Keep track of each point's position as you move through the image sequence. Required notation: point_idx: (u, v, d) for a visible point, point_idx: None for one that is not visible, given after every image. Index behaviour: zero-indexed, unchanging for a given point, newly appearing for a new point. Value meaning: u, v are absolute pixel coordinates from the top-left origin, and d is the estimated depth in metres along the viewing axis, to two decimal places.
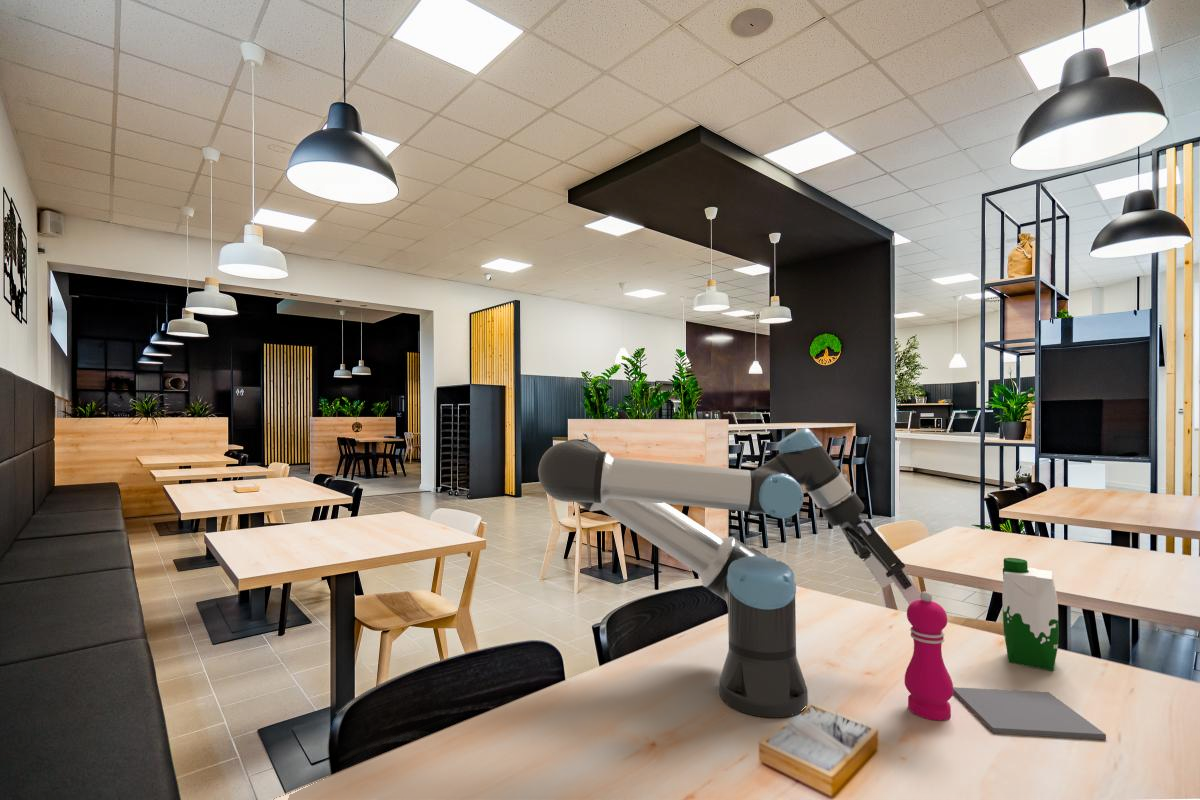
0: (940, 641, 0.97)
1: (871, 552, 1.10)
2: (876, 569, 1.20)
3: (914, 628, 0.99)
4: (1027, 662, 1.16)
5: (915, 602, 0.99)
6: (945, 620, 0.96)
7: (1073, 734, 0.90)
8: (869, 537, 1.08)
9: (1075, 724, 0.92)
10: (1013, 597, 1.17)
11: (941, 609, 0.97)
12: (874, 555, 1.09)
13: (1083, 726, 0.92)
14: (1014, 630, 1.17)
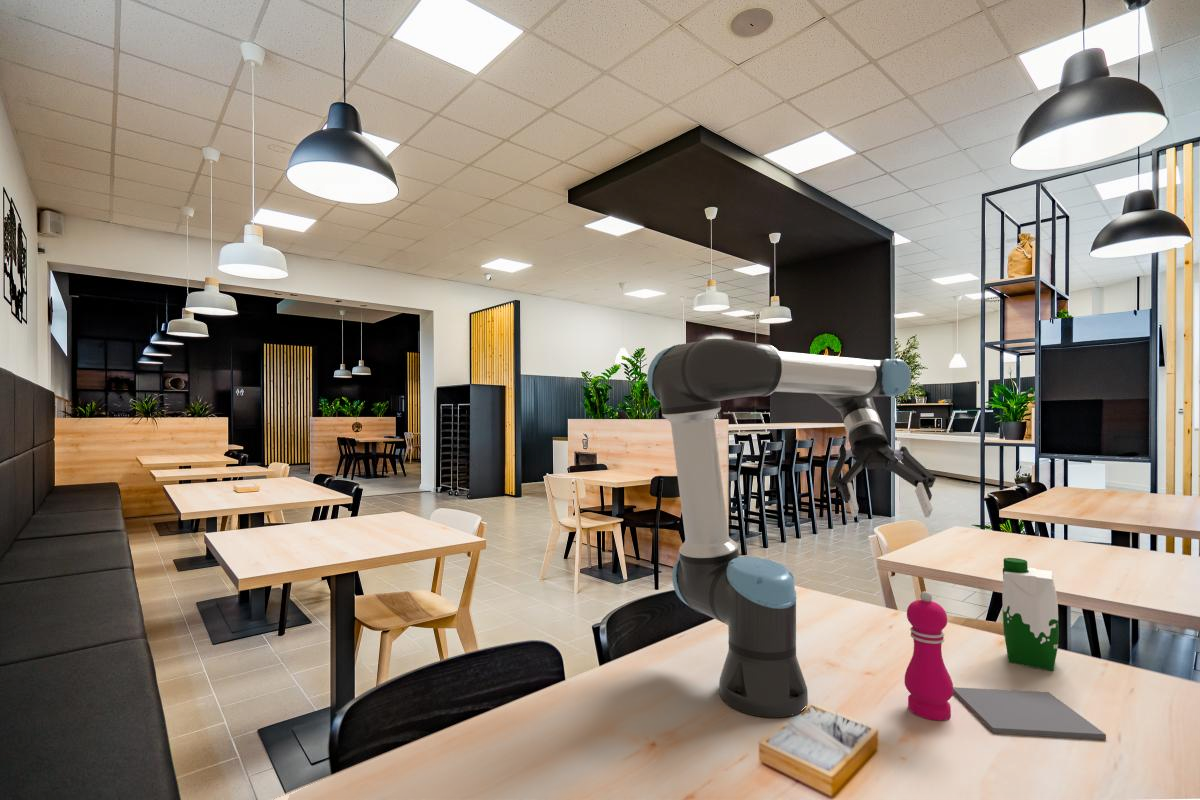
0: (940, 641, 0.97)
1: (902, 466, 1.21)
2: None
3: (914, 628, 0.99)
4: (1027, 662, 1.16)
5: (915, 602, 0.99)
6: (945, 620, 0.96)
7: (1073, 734, 0.90)
8: None
9: (1075, 724, 0.92)
10: (1013, 597, 1.17)
11: (941, 609, 0.97)
12: (907, 468, 1.20)
13: (1083, 726, 0.92)
14: (1014, 630, 1.17)
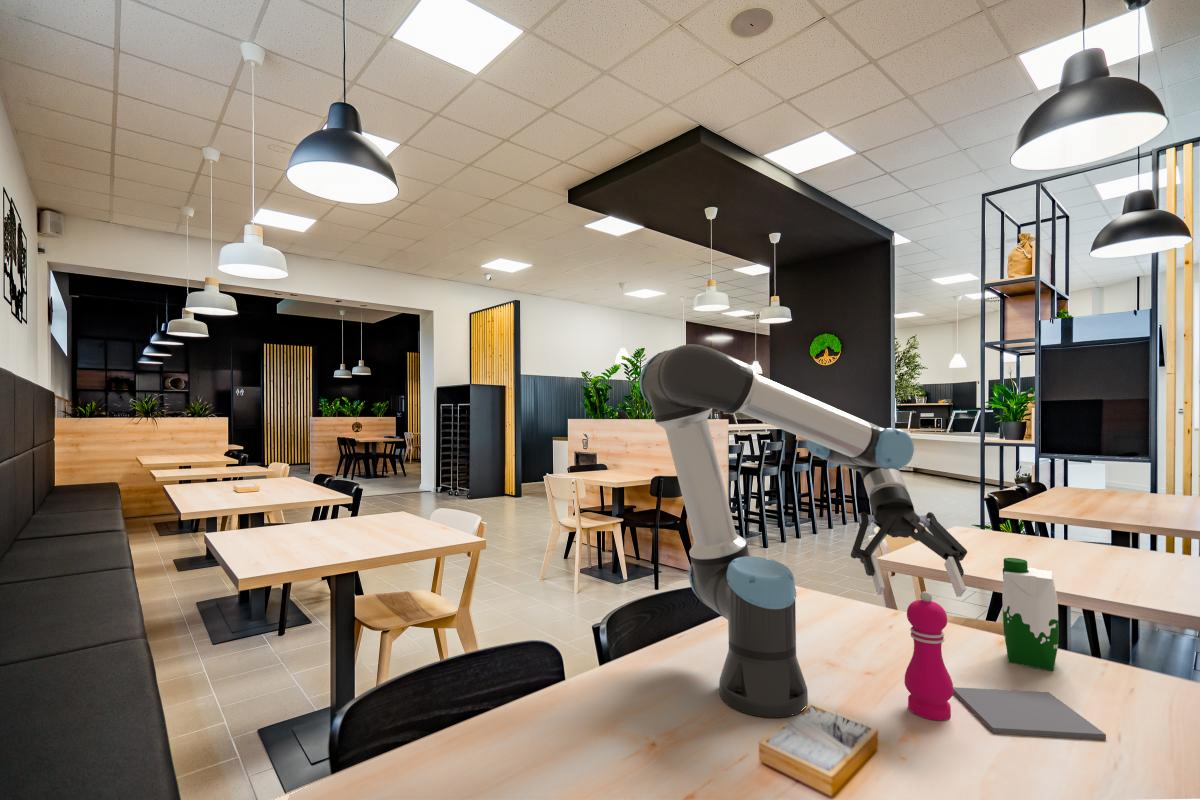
0: (940, 641, 0.97)
1: (930, 536, 1.11)
2: None
3: (914, 628, 0.99)
4: (1027, 662, 1.16)
5: (915, 602, 0.99)
6: (945, 620, 0.96)
7: (1073, 734, 0.90)
8: None
9: (1075, 724, 0.92)
10: (1013, 597, 1.17)
11: (941, 609, 0.97)
12: (935, 539, 1.11)
13: (1083, 726, 0.92)
14: (1014, 631, 1.17)
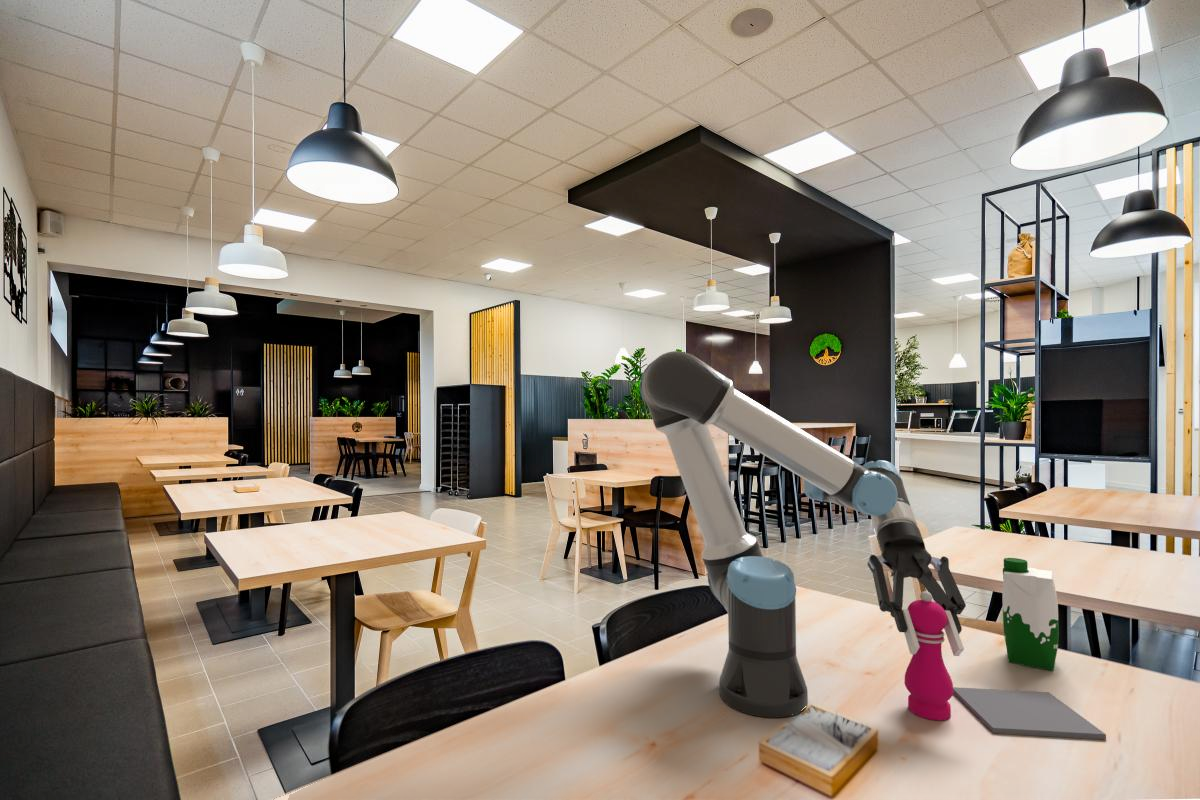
0: (940, 641, 0.97)
1: (933, 582, 1.02)
2: None
3: (914, 628, 0.99)
4: (1027, 662, 1.16)
5: (915, 602, 0.99)
6: (945, 620, 0.96)
7: (1073, 734, 0.90)
8: None
9: (1075, 724, 0.92)
10: (1013, 597, 1.17)
11: (941, 609, 0.97)
12: (938, 586, 1.02)
13: (1083, 726, 0.92)
14: (1014, 630, 1.17)
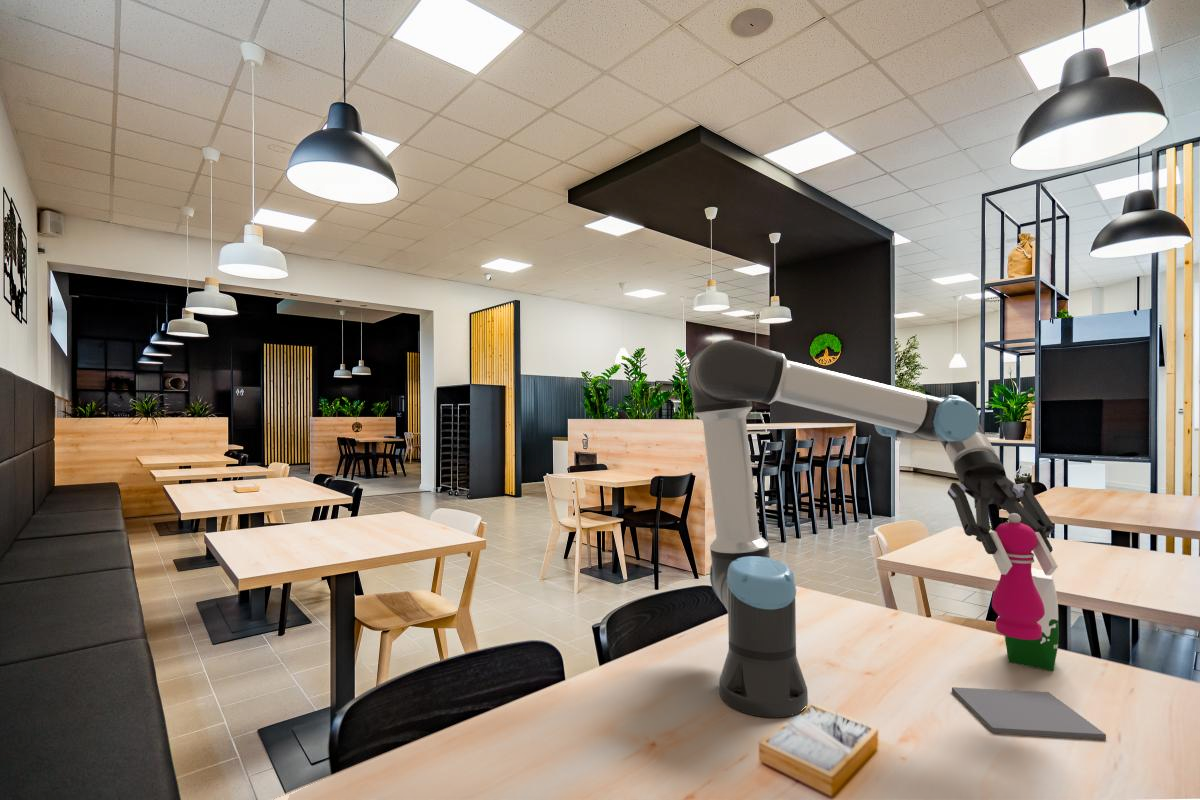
0: (1031, 561, 0.96)
1: (1019, 507, 1.02)
2: None
3: None
4: (1027, 662, 1.16)
5: (1003, 524, 0.99)
6: (1036, 540, 0.96)
7: (1073, 734, 0.90)
8: None
9: (1075, 724, 0.92)
10: None
11: (1031, 529, 0.97)
12: (1024, 510, 1.01)
13: (1083, 726, 0.92)
14: None
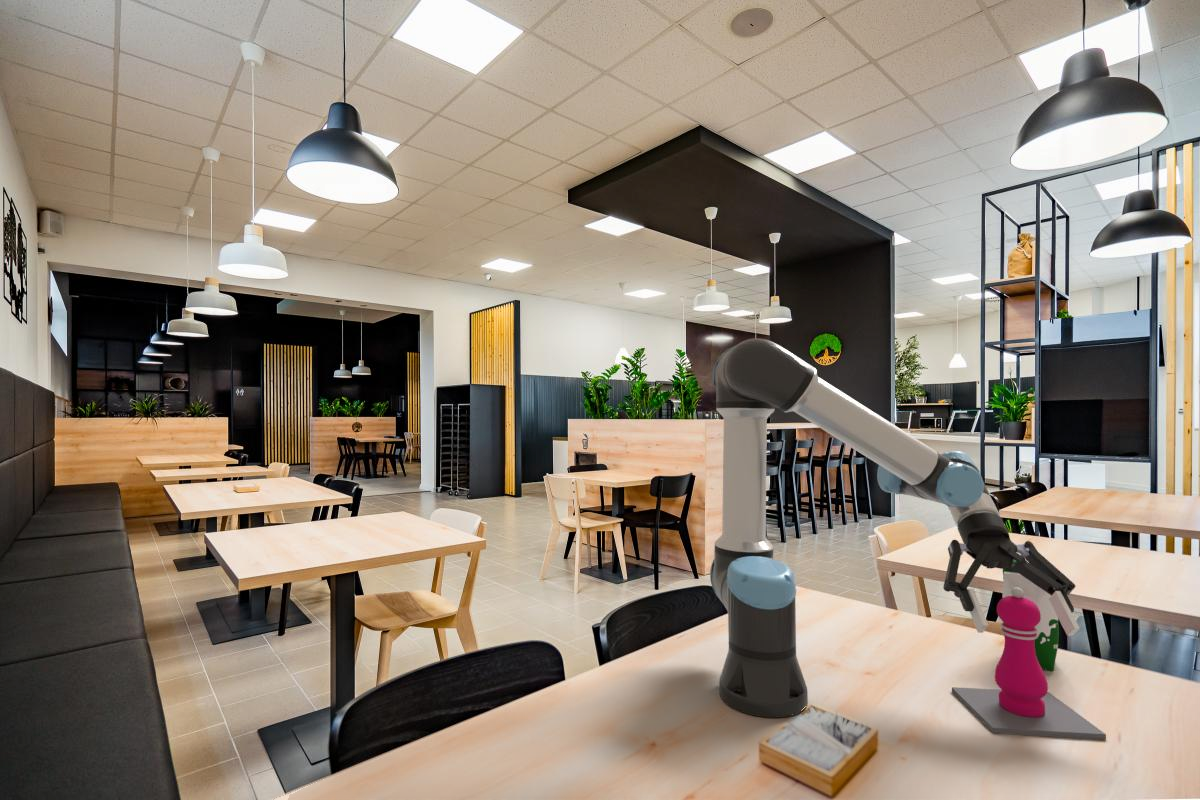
0: (1034, 637, 0.96)
1: (1032, 568, 1.02)
2: None
3: (1006, 624, 0.98)
4: None
5: (1006, 598, 0.98)
6: (1039, 616, 0.96)
7: (1073, 734, 0.90)
8: None
9: (1075, 724, 0.92)
10: None
11: (1034, 605, 0.96)
12: (1037, 571, 1.01)
13: (1083, 726, 0.92)
14: None
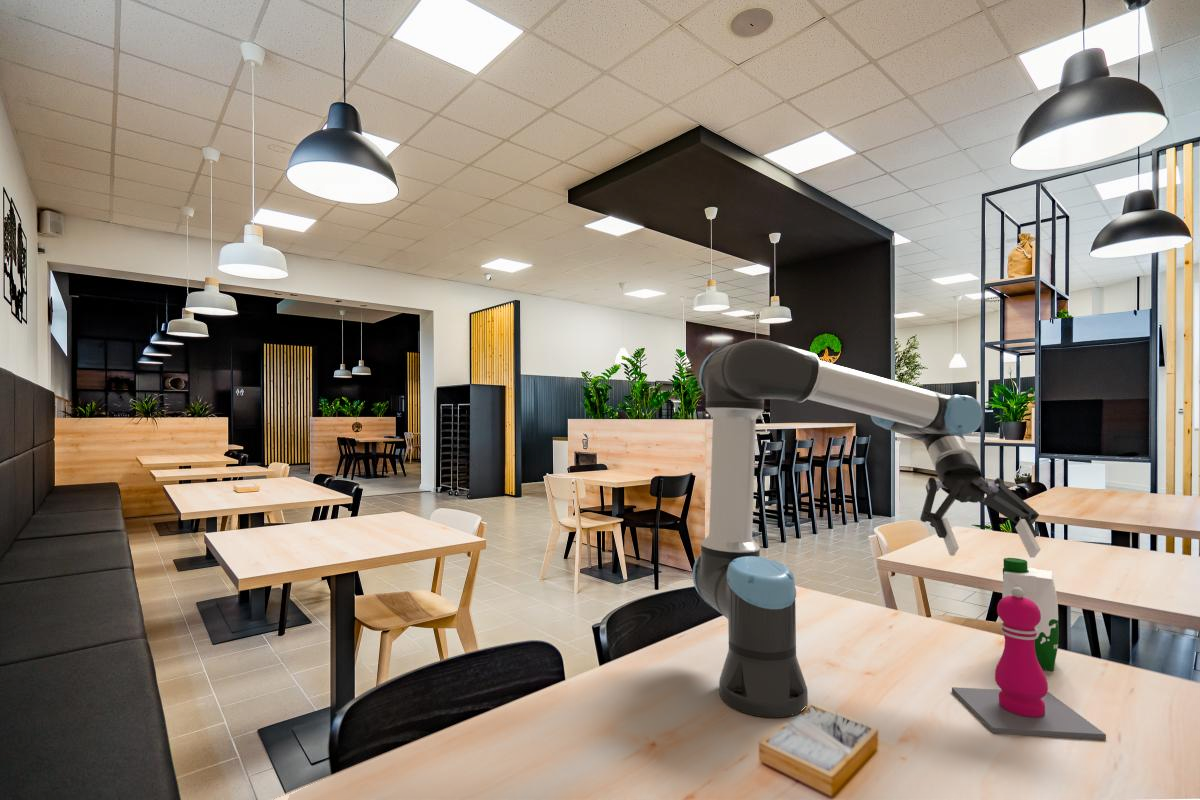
0: (1034, 637, 0.96)
1: (1000, 500, 1.13)
2: None
3: (1006, 624, 0.98)
4: None
5: (1006, 598, 0.99)
6: (1039, 616, 0.96)
7: (1073, 734, 0.90)
8: None
9: (1075, 724, 0.92)
10: None
11: (1035, 605, 0.96)
12: (1005, 503, 1.12)
13: (1083, 726, 0.92)
14: None
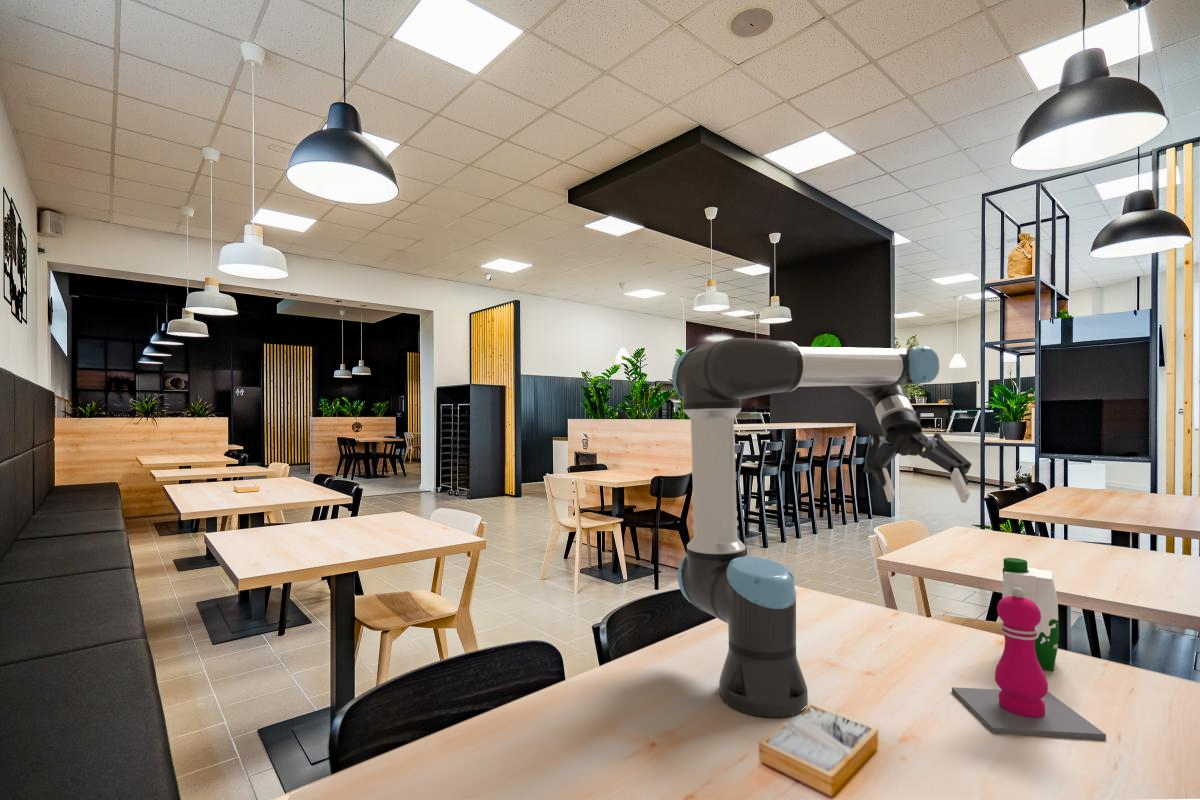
0: (1034, 637, 0.96)
1: (937, 452, 1.21)
2: None
3: (1006, 624, 0.98)
4: None
5: (1006, 598, 0.98)
6: (1039, 616, 0.96)
7: (1073, 734, 0.90)
8: None
9: (1075, 724, 0.92)
10: None
11: (1035, 605, 0.96)
12: (942, 454, 1.20)
13: (1083, 726, 0.92)
14: None
